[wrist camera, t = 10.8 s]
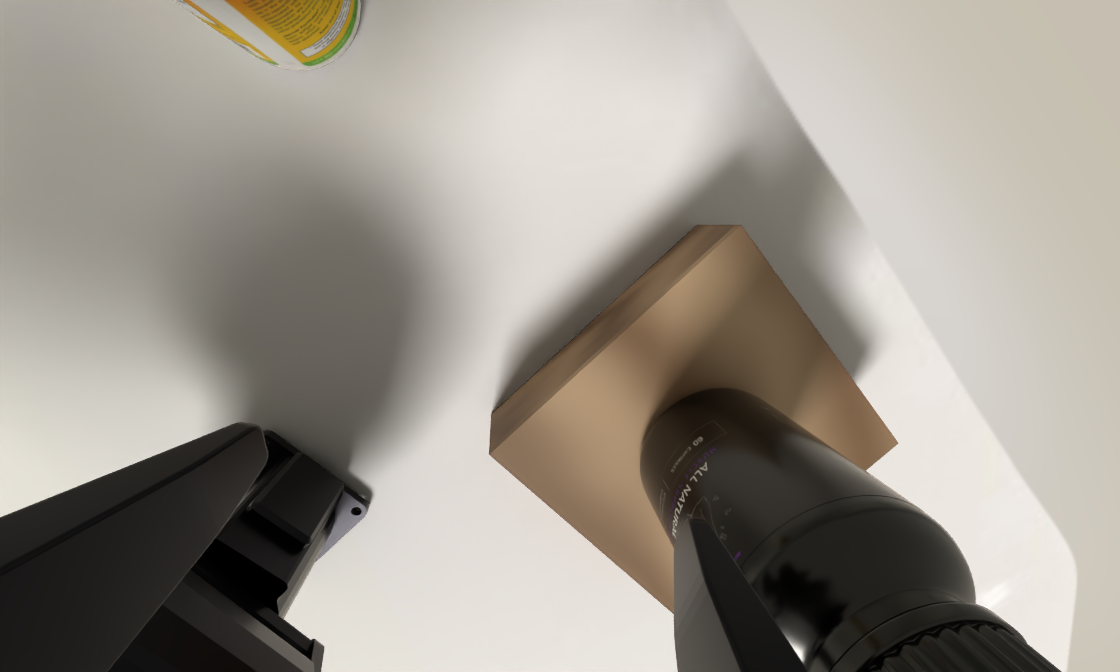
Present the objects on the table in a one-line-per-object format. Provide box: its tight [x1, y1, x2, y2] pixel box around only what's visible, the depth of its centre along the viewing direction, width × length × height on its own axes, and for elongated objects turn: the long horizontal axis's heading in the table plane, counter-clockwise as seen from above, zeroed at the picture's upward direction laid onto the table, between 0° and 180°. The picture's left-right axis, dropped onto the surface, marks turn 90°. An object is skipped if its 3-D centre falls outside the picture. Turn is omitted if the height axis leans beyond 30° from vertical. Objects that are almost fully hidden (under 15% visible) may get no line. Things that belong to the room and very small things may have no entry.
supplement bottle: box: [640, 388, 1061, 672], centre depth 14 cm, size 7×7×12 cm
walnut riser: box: [489, 225, 898, 614], centre depth 21 cm, size 14×14×4 cm
